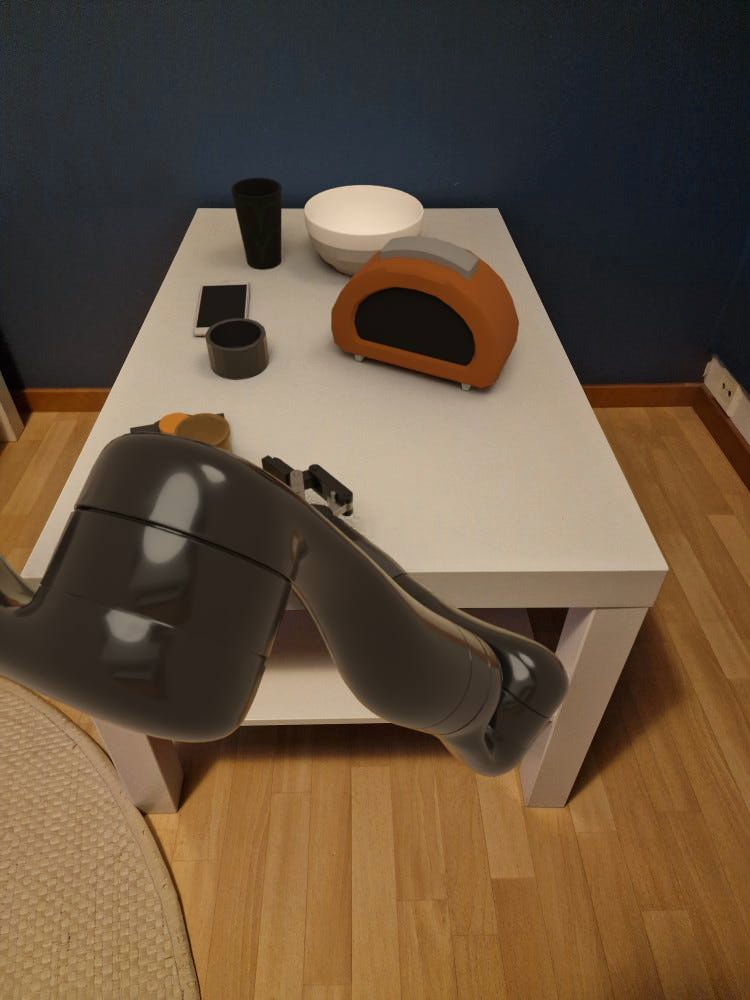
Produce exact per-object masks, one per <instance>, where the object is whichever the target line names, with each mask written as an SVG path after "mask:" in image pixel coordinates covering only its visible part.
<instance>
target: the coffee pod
mask: <svg viewBox="0 0 750 1000" xmlns="http://www.w3.org/2000/svg"><path fill="white" fill-rule="evenodd" d="M216 414H217V413H212V412H201V413H195V414H191V415H192V416H189V417H187V418H185V419H183V420H182V421H181V422H180V423H179V424H178V425H177V426H176V428H175V430H174V435H178V436H183V437H187V438H192V439H195V440H198V441H202V442H205V443H208V444H211V445H213V446H216V447H218V448H221V449H224V450H226V451H229V452H231V453H233V450H232V444H231V438H230V437H231V426H230V424H229V421H228V420H227V419H226V417H225V418H223V417H221V416H219V415H216Z"/></svg>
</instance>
